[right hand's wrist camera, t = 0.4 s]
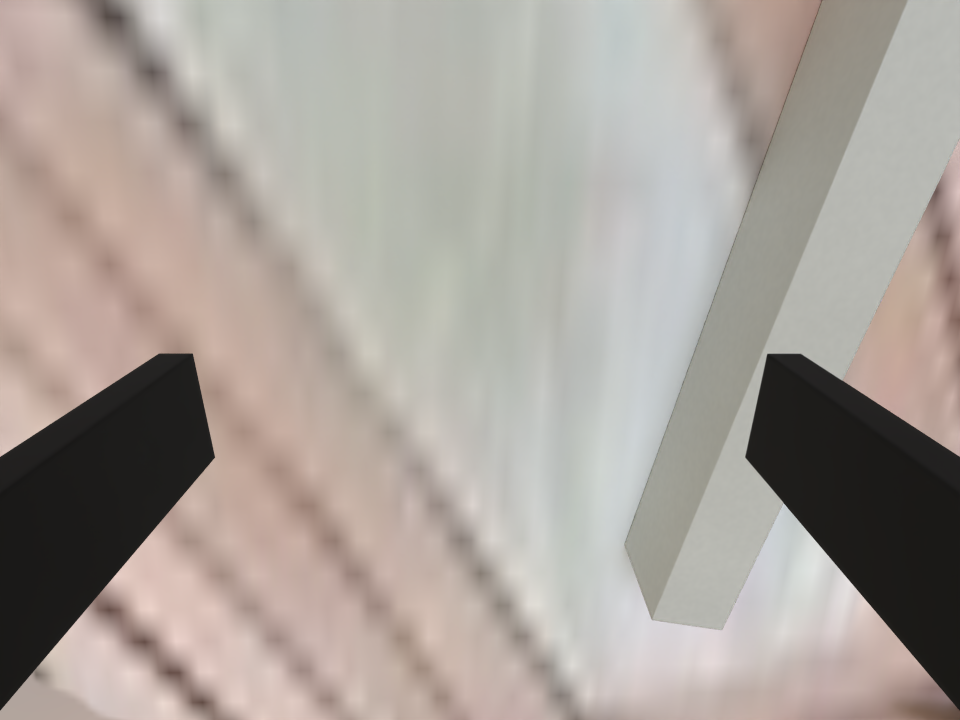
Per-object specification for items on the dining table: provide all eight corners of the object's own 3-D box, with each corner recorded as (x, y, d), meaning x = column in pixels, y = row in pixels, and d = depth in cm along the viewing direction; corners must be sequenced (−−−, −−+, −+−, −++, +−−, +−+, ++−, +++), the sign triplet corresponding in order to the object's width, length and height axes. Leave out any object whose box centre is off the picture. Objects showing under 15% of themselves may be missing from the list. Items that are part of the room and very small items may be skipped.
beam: (965, -397, 26) (1163, -618, 19) (1068, -366, 27) (1303, -571, 19) (624, 544, 48) (651, 620, 40) (683, 554, 48) (722, 630, 41)
